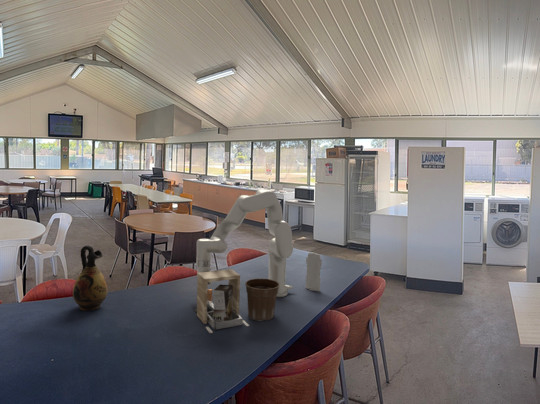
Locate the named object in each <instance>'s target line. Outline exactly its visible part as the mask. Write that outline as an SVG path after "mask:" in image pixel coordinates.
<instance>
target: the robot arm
mask: <svg viewBox="0 0 540 404" xmlns="http://www.w3.org/2000/svg"><path fill="white" fill-rule="evenodd" d="M264 209H265V211H266V216H267V227H268V232H269V234H270V235H272V236H274V237H273V238H272V239H270V240H269V242H268V244H267V245H268V246H267V249H268V278H267V279H271V280H274V281H277V282H278V283H279V284H280V286H279V287H278V293H277V296H276V298H282V297H285V296H288V292H289V291H288V290H292V289H293V288H294V286H293V285H288V284H286V272H287V271H286V269H287V259H289V258H290V257H291V256H292V255H293V253H294V252H293V251H294V244H293V243H294V242H293V232H292V227H291V226H290V224H289V223H288V222H287V221H286V220H285V221H284V215H283V214H284V213H283V207H282V205H281V202H280V200H279V199H278V197H277V193H276V192H274V191H273V190H269V189H266V188H260V189H258V190H257V191H256V192H255V194H252V195H248V194H241V195H239V196H238V197H237V199H236V200H235V202H234V204H233V205H232V207H231V208H230V210H229V211H228V213H227V215H226V217H225V218H224V219H223V220H222V221H221V223H219V224H218V225H217V226H216V228H215V230H214V231H213V233H212V235H211V236H210V238H199V239H197V240H196V262H195V263H196V265H195V266H196V267H197V271H196V272H197V273H200V272H209V271H212V270H211V266H212V254H218V255H219V254H223V253H225V252H226V251H227V249H228V243H227V242H226V238H227V237H228V236H229V234H230V233H231V232H232V231H234V230H236V229H237V228H239V227H240V226H241V225H242V223H243V221H244V219H245V218H246V217H247V215H248V214H249V213H255V212H258V211H261V210H264ZM197 273H196V274H197ZM211 285H212V282H207V290H209V286H211Z"/></svg>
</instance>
